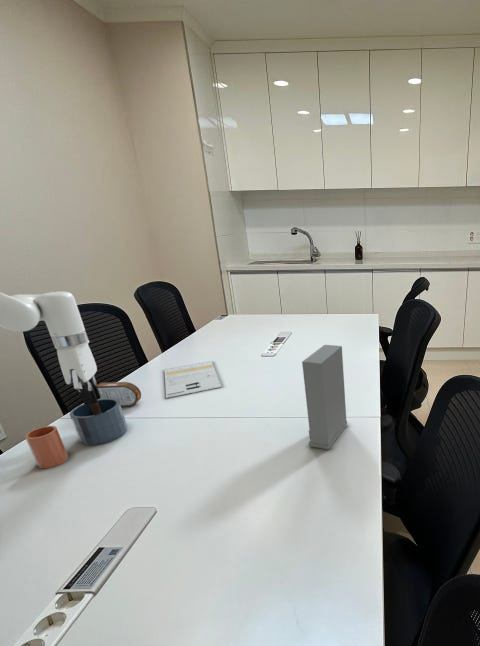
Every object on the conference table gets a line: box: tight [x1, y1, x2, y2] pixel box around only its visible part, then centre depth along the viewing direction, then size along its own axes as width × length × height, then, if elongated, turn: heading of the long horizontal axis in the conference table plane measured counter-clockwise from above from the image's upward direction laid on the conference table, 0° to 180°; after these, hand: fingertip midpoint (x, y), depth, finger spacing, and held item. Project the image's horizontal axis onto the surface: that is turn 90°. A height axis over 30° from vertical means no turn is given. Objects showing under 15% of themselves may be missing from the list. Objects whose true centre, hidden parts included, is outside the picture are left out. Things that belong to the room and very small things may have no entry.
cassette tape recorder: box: [301, 344, 348, 451], centre depth 106 cm, size 14×6×25 cm, turn 162°
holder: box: [24, 425, 69, 469], centre depth 101 cm, size 6×6×9 cm
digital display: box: [164, 361, 222, 399], centre depth 152 cm, size 18×1×30 cm
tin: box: [96, 381, 142, 408], centre depth 130 cm, size 15×3×8 cm, turn 94°
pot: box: [69, 398, 129, 446], centre depth 113 cm, size 12×12×9 cm
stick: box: [84, 382, 101, 415], centre depth 111 cm, size 2×2×16 cm
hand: (92, 400), depth 110 cm, fingers closed on stick, 2 cm apart
